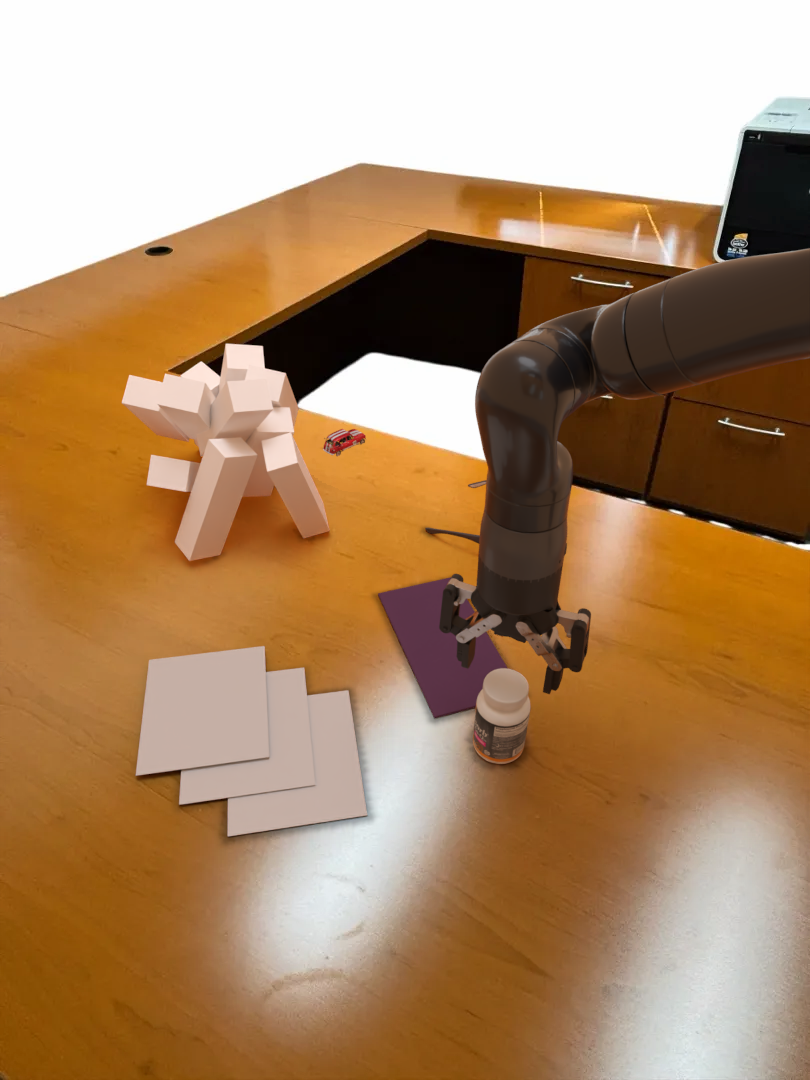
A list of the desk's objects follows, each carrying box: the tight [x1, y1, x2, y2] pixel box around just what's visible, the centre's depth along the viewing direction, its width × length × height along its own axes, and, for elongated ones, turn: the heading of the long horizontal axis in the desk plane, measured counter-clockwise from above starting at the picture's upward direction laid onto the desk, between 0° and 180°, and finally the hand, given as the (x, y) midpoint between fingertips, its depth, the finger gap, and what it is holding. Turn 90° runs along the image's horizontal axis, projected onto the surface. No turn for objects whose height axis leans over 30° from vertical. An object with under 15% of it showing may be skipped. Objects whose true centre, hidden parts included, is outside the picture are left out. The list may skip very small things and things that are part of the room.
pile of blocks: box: [121, 343, 331, 562], centre depth 112 cm, size 35×30×35 cm
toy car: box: [322, 428, 367, 457], centre depth 134 cm, size 4×8×3 cm, turn 133°
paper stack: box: [135, 645, 368, 837], centre depth 86 cm, size 23×25×1 cm
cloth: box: [377, 576, 509, 719], centre depth 98 cm, size 22×11×1 cm, turn 19°
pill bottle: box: [472, 667, 532, 765], centre depth 82 cm, size 6×6×10 cm
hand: (507, 674), depth 78 cm, fingers open, 8 cm apart
